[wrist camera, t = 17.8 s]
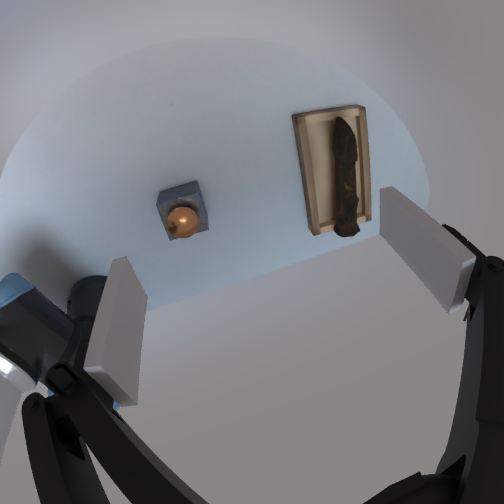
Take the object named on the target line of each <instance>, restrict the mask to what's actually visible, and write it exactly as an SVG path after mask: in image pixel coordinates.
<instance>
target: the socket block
mask: <svg viewBox="0 0 504 504" xmlns="http://www.w3.org/2000/svg"><path fill="white" fill-rule="evenodd" d="M156 206H157V208H158V211H159V214H160V216H161V219H162V221H163V224H164V227H165V229H166V232H167V234H168V237H169V239H170V240H174V239H177V238H178V237H175V236H173V235H172V234H171V233H170V232H169V231H168V228H167V218H168V215H169V213H170V212H171V211H172V210H174V209H176V208H179V207H186V206H190V207H191V209H192V210H193V211H194V212H195V213H196V214H197V216H198V221H199V225H198V229H197V231H196V232H195V233H198V232H202V231H206V230H209V226H208V216H207V212H206V209H205V205H204V202H203V199H202V196H201V192H200V189H199V186H198V183H197V181H194V182H190V183H187V184H183V185H180V186H177V187H173V188H170V189H167V190H164V191H160V192H159V196H158V200H157V204H156ZM195 233H194V234H195Z"/></svg>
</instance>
